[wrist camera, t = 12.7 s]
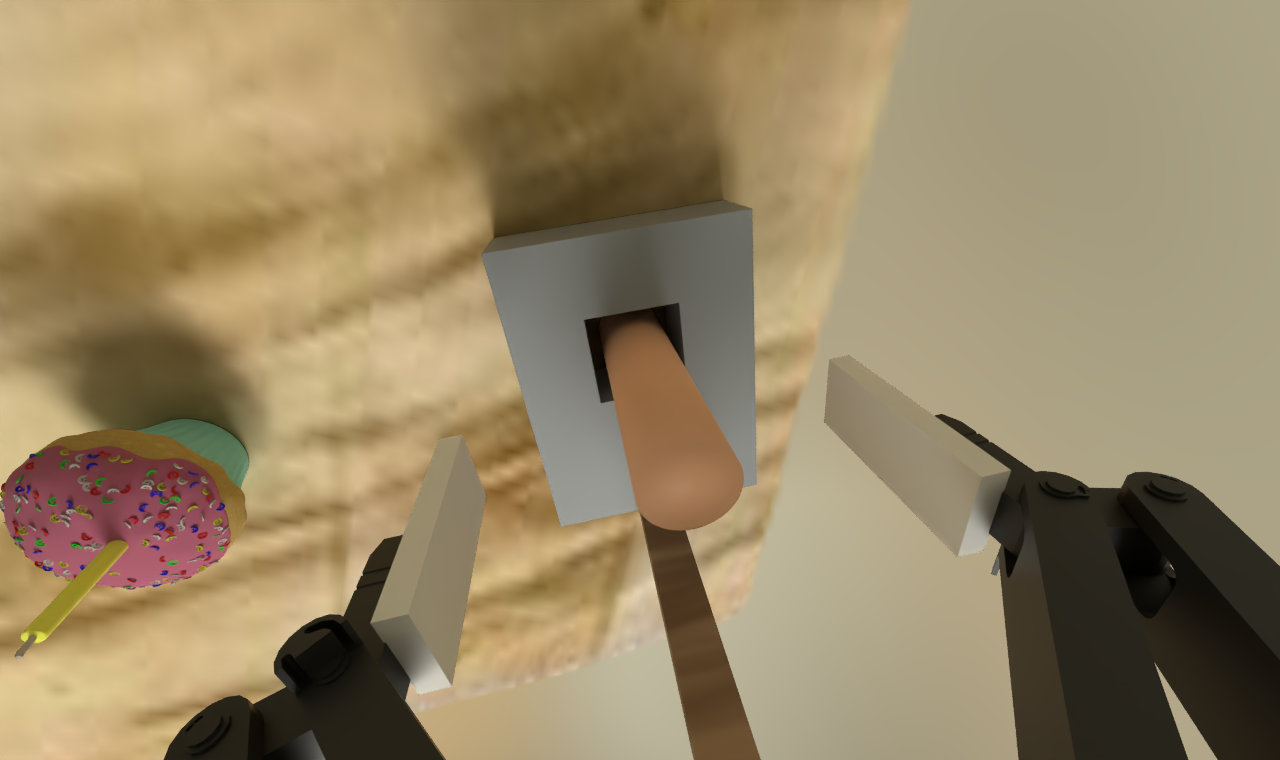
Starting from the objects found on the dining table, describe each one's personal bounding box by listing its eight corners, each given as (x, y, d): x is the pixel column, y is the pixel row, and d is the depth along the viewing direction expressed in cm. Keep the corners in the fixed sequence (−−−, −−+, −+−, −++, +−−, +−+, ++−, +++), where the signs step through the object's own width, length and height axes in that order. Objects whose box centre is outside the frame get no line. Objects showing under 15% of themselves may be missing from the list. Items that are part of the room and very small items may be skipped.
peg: (604, 360, 27) (642, 540, 14) (594, 306, 25) (626, 455, 13) (660, 350, 27) (745, 517, 15) (654, 295, 25) (742, 431, 13)
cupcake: (241, 376, 24) (-11, 555, 13) (313, 498, 28) (163, 710, 17) (63, 405, 23) (-349, 619, 13) (164, 526, 27) (-88, 765, 17)
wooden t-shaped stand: (535, 449, 29) (482, 1084, 9) (747, 406, 30) (1103, 894, 10) (562, 539, 33) (565, 1126, 13) (749, 498, 34) (1014, 984, 14)
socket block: (493, 237, 23) (481, 253, 19) (723, 200, 24) (752, 208, 20) (561, 482, 30) (561, 526, 27) (734, 446, 31) (756, 484, 28)
